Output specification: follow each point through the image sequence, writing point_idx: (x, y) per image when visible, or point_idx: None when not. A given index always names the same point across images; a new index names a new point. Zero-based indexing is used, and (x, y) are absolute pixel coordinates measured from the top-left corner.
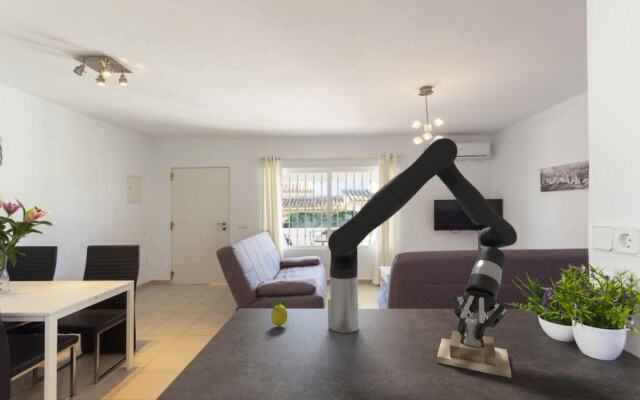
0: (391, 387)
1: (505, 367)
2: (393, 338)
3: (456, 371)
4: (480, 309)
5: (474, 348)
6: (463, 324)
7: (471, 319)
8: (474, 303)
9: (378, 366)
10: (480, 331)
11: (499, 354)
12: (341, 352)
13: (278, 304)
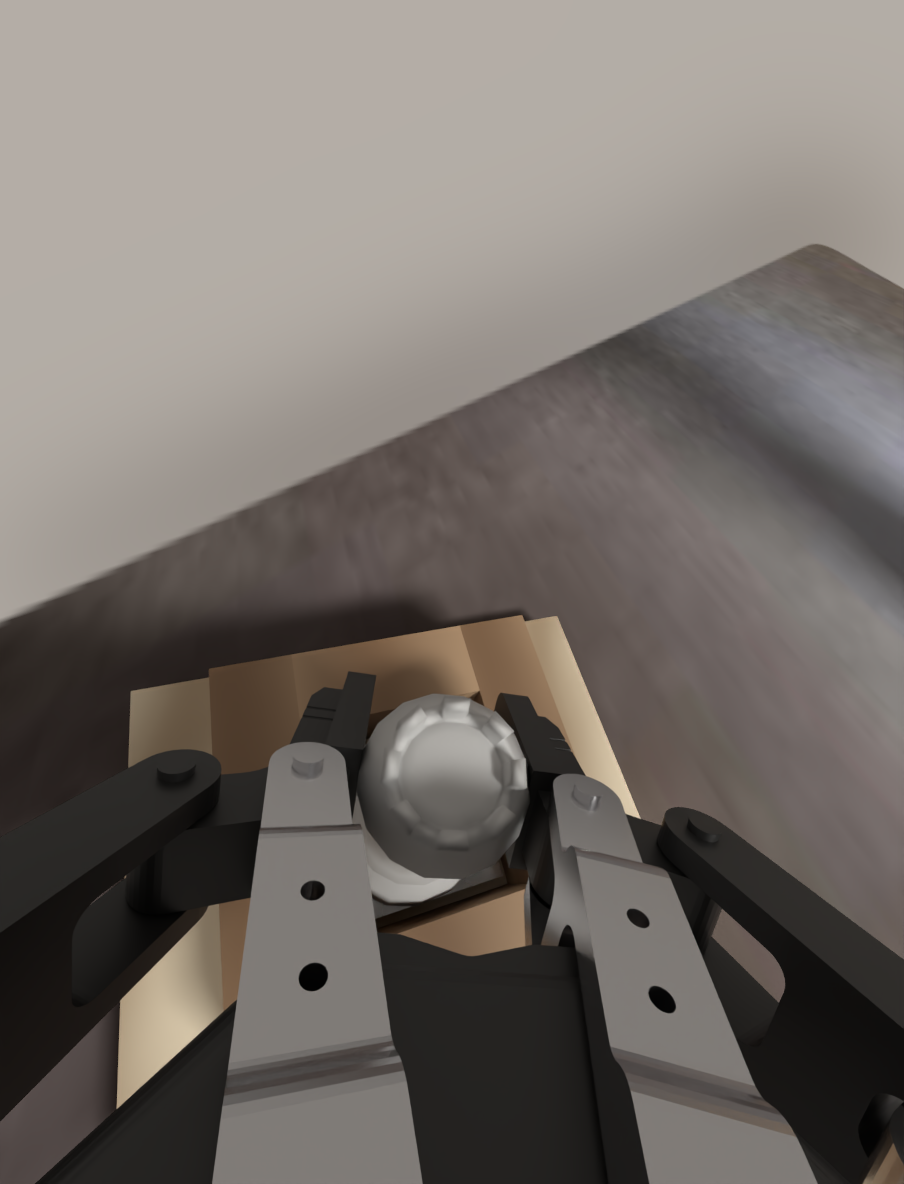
0: (564, 393)
1: (164, 724)
2: (885, 765)
3: (433, 600)
4: (336, 884)
5: (365, 662)
6: (518, 732)
7: (454, 770)
8: (549, 1129)
9: (683, 471)
10: (324, 710)
11: (198, 960)
12: (843, 489)
13: None
